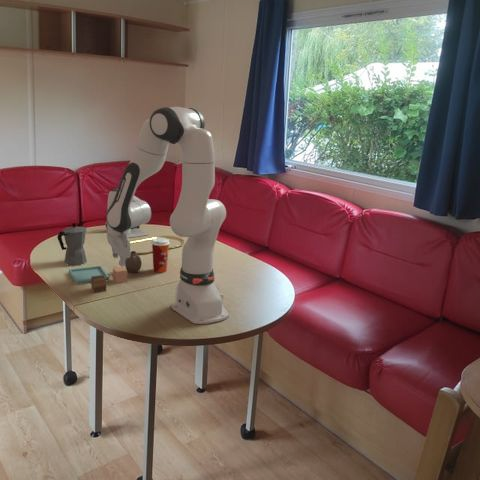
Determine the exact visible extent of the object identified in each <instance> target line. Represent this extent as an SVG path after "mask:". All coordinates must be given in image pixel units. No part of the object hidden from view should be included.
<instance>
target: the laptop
mask: <svg viewBox="0 0 480 480" xmlns="http://www.w3.org/2000/svg"><path fill="white" fill-rule="evenodd" d="M149 235H150V234H149V233H148V232H146V231H144V230H142V229H141V228H140V226H137V227H134V228H131V229H130V234H128V235H127V237H128V239H131V238H136V237H139V238H140V237H147V236H149Z"/></svg>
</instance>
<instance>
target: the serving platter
mask: <svg viewBox="0 0 480 480" xmlns="http://www.w3.org/2000/svg"><path fill="white" fill-rule="evenodd" d="M154 238H166V239H168V240H175V241H178V242H179V243H180V244H178V245H175V246H169V249H168V250H172V249H177V248H180V247H181V246H184V244H185V240H184V239H183V238H182V237H180V236H174V235H156V236H149V237H143V238H139V239H134V240H133V239H132V240H130V245H134V244H138V243H143V242H149V241H150V242H151V241H152V240H153V239H154ZM136 253H137V254H138V255H147V254H153V250H150V251H143V252H136Z"/></svg>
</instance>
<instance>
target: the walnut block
mask: <svg viewBox="0 0 480 480" xmlns="http://www.w3.org/2000/svg"><path fill="white" fill-rule="evenodd" d="M90 284H91V290H92V291H93V293H100V292H101V293H102V292H107V280H106V278H105V277H104V276H103V275H98V276H91V282H90Z"/></svg>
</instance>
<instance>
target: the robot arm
mask: <svg viewBox="0 0 480 480" xmlns="http://www.w3.org/2000/svg"><path fill="white" fill-rule="evenodd" d="M149 117H150V118H147V119H146V120H145V121H144V122H143V125H142V126H141V129H140V132H139V135H138V137H137V138H138V139H137V140H136V146H135V149H134V152H133V154H132V157H131V159H130V161H129V162H128V164H127V165H126V167H125V169H124V170H123V174H122V175H121V177H120V181H119V184H118V186H117V188H114V189H112V190H110V191H109V192H108V197H107V212H106V217H105V218H106V222H105V228H106V237H107V238H106V239H107V244H108V245H109V246H110V247H111V251H112V257H113V258H114V259H116V258H117V259H118V258H120V259H119V260H118V261H119V267H125V260H126V258H130V255H131V251H132V250H131V244H130V241H131V240H130V238H128V237H127V235H128V234H130V230H131V228H134V227H137V226H139V227H141V226H143V225H146V224H148V223H149V222H150V221H151V219H152V215H153V213H152V212H153V211H152V207H151V205H150V204H149V203H148V201H146V200H143V199H141V198H139V197H137V196H136V195H135V193H136V191H137V189H138V187H139V186H140V185H141V183H142V182H144V181H145V180H147V179H149V178H150V177H151V176H153V175H156V174H157V173H158V172H160V170H161V169H162V168H163V166H164V164H165V162H166V158H167V154H168V151H169V150H168V149H169V146H170V144H172V145H175V144H178V145H179V146H180V147H181V148H180V149H181V154H182V155H181V157H182V158H181V159H182V160H181V161H182V162H181V163H182V164H181V166H182V167H181V168H182V170H181V171H182V172H181V173H182V180H181V181H182V182H181V189H180V194H179V197H178V201H177V203H176V206H175V209H174V210H173V212H172V213H171V215H170V217H169V225H170V228H171V230H172V232H173V233H174V235H176V236H177V237H179V238H187V240H186V241H185V242H184V244H183V245H182V246H183V247H182V250H181V251H182V253H181V267H180V270H179V278H180V281H179V282H178V283H177V285H176V288H175V296H174V297H175V298H174V303H172V304H171V306H170V307H171V309H172V310H173V311H175V312H176V313H178V314H179V315H181V316H182V317H183V318H185V319H186V320H188V321H189V322H191V323H193V324H195V325H196V324H197V325H198V324H199V325H203V324H205V325H206V324H212V323H217V322H221V321H224V320H226V319H227V318H229V313H228V311H227V310H226V308H225V306H224V305H223V300H224V293H222V292H221V293H220V292H219V286H217V285H216V282H215V272H214V268H213V262H214V252H215V251H214V250H215V245H216V241H217V238H218V235H219V232H220V229H221V226H222V224H223V223H224V221H225V220H226V218H227V209H226V207H225V204H223V203H222V202H221V201H220V200H218V199H213V198H212V199H211V198H209V197H210V195H211V192H212V190H214V187H215V183H216V171H215V170H216V162H215V161H216V160H215V156H216V155H215V146H214V140H213V136H212V133H211V132H210V131H209V130H207V129H205V125H206V123H205V122H206V121H205V118H204V116H203V114H202V112H200V111H199V110H197V109H195V108H192V107H181V106H169V107H167V106H163V107H160V108H158V109H156V110H154V111H153V112H152V114H150V116H149Z"/></svg>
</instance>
